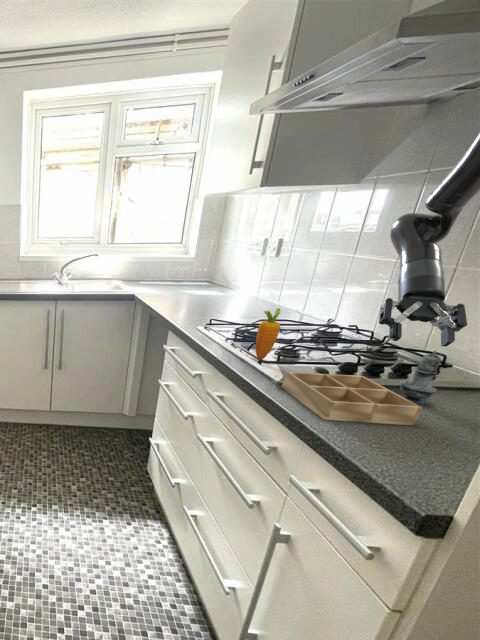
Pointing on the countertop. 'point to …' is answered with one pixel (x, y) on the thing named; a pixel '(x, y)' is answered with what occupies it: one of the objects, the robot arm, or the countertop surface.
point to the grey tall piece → (421, 380)
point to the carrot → (267, 334)
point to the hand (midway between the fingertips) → (421, 342)
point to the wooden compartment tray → (350, 398)
